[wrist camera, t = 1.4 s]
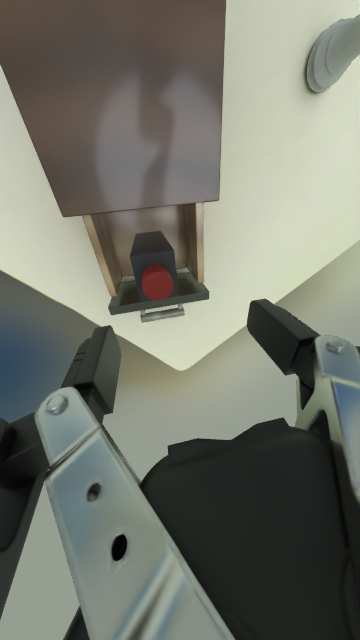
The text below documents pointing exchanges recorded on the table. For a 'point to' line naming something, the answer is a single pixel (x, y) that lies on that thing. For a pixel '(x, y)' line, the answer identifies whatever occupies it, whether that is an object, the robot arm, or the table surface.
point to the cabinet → (119, 98)
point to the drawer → (116, 243)
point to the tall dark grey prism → (154, 266)
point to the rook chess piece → (333, 53)
